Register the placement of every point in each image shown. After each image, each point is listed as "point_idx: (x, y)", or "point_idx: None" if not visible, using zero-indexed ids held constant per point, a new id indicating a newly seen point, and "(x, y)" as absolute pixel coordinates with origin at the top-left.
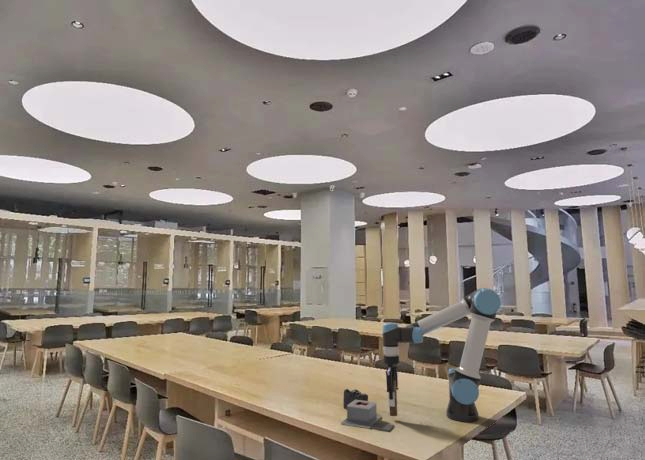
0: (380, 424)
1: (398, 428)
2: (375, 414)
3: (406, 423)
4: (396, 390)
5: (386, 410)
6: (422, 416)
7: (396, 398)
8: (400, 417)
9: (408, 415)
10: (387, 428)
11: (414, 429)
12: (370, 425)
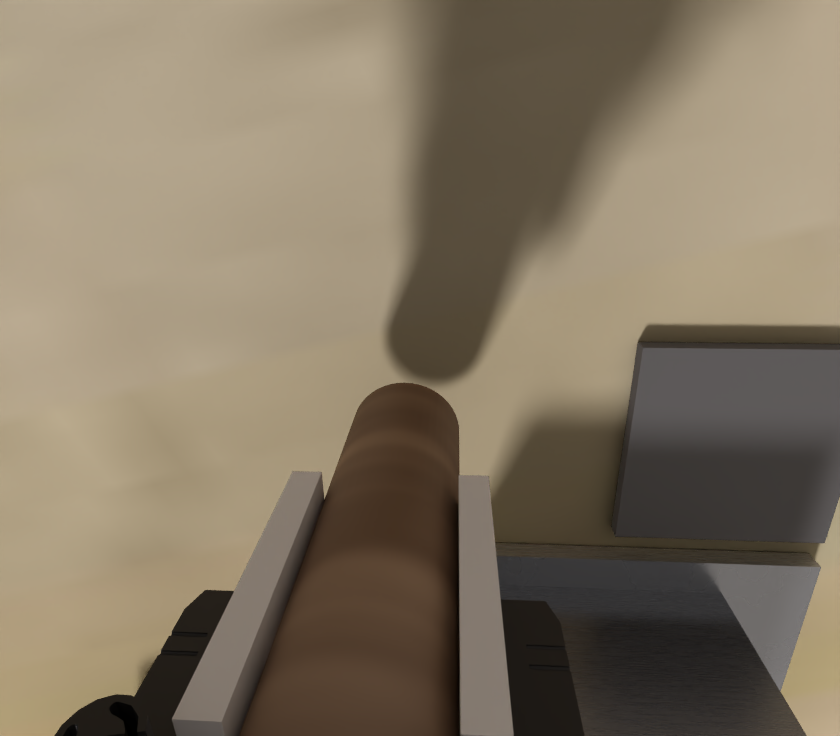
0: (679, 492)
1: (704, 271)
2: None
3: (455, 222)
4: (199, 712)
5: (100, 548)
6: (21, 73)
7: (377, 546)
8: (252, 353)
9: (111, 279)
10: (813, 388)
11: (681, 39)
12: (770, 573)
